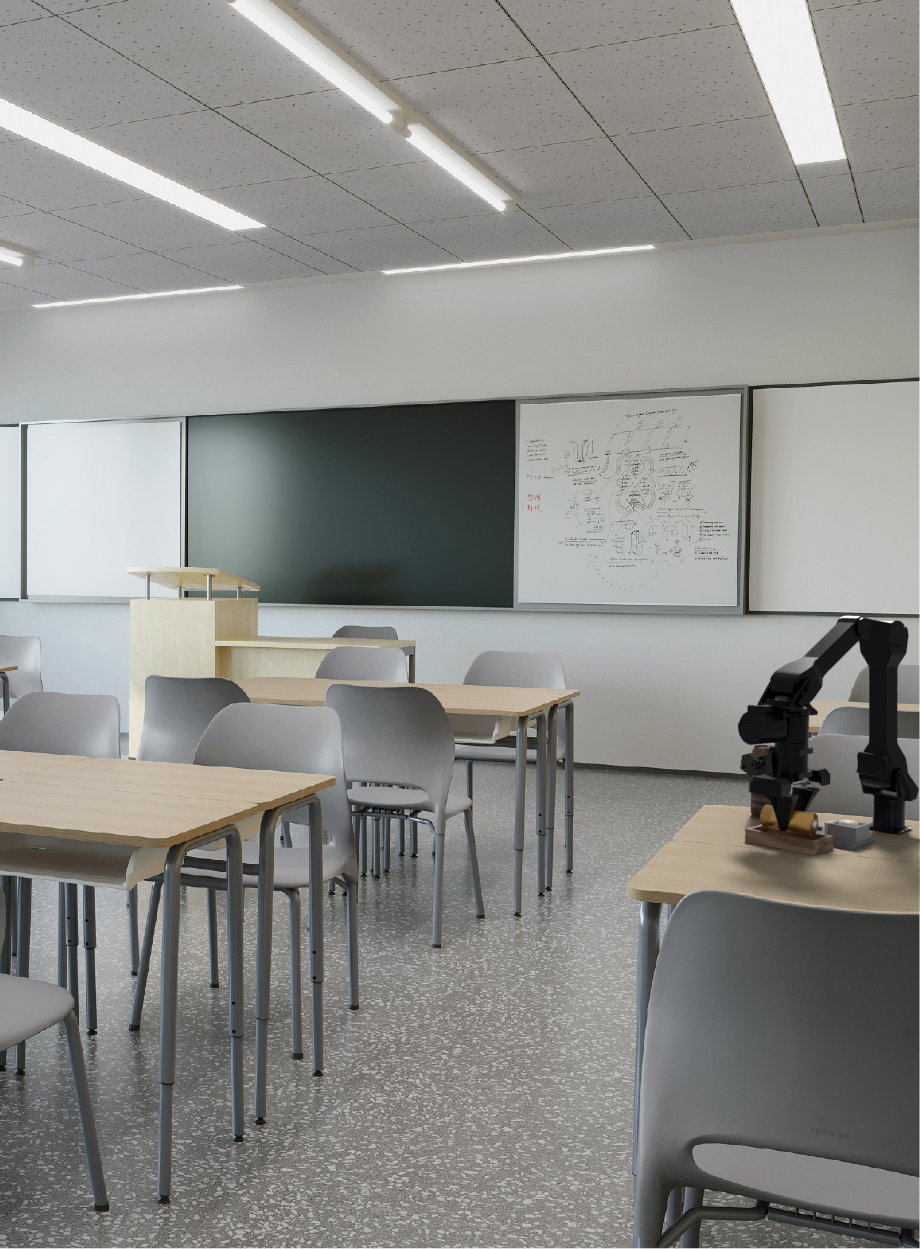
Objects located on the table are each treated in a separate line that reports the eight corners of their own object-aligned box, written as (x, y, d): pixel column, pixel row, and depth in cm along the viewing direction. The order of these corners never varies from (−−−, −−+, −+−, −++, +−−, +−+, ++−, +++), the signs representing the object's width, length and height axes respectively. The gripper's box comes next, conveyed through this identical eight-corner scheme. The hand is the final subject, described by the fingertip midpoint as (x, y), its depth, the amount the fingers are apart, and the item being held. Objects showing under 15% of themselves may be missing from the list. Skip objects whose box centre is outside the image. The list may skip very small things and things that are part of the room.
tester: (781, 824, 198) (782, 806, 198) (873, 841, 185) (874, 822, 185) (757, 831, 192) (757, 812, 192) (850, 850, 179) (851, 830, 179)
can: (778, 813, 208) (780, 744, 207) (785, 820, 202) (787, 749, 201) (747, 812, 209) (749, 743, 208) (753, 819, 202) (755, 748, 202)
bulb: (843, 828, 186) (844, 818, 186) (861, 832, 184) (861, 822, 184) (835, 831, 184) (835, 821, 184) (853, 834, 182) (853, 824, 182)
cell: (771, 825, 187) (771, 803, 187) (821, 835, 180) (822, 812, 180) (759, 828, 184) (760, 806, 184) (810, 838, 177) (811, 815, 177)
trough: (765, 834, 189) (766, 823, 189) (833, 848, 180) (833, 836, 180) (745, 841, 184) (745, 829, 184) (813, 855, 175) (813, 842, 175)
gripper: (776, 731, 194) (774, 813, 194) (722, 740, 181) (720, 829, 181) (832, 738, 186) (830, 824, 186) (780, 748, 173) (778, 841, 173)
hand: (789, 829), depth 182 cm, fingers closed on cell, 4 cm apart
